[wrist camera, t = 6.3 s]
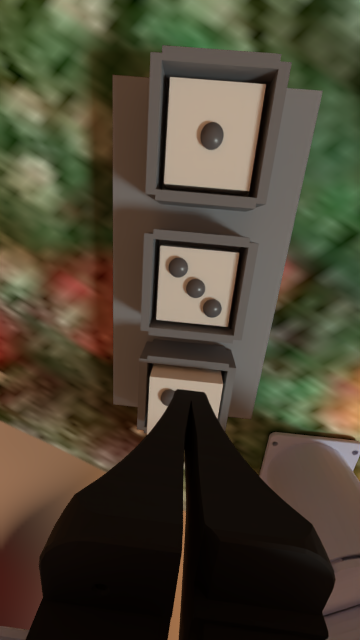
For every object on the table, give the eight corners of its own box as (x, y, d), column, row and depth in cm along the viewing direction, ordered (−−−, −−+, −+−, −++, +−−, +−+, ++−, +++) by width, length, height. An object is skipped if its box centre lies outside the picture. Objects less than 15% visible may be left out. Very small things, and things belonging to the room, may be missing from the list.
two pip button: (212, 422, 19) (213, 444, 17) (151, 415, 19) (146, 436, 17) (220, 368, 17) (223, 386, 15) (154, 361, 17) (149, 378, 15)
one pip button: (243, 195, 15) (249, 190, 13) (167, 188, 15) (163, 183, 13) (257, 102, 14) (267, 81, 12) (173, 95, 14) (169, 74, 12)
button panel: (246, 403, 22) (258, 445, 18) (120, 390, 23) (102, 428, 18) (307, 106, 15) (351, 59, 11) (122, 92, 16) (94, 40, 11)
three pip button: (224, 317, 18) (228, 327, 16) (159, 311, 18) (155, 320, 16) (234, 250, 16) (240, 253, 14) (164, 243, 16) (159, 245, 14)
